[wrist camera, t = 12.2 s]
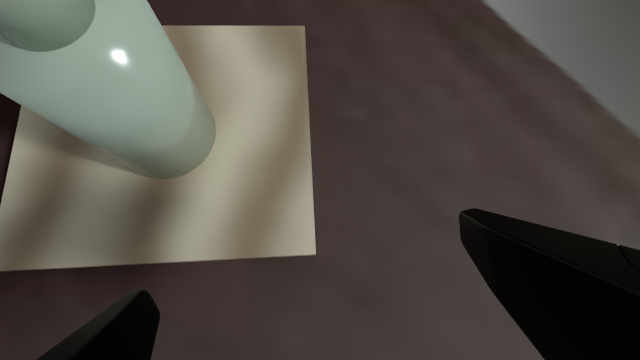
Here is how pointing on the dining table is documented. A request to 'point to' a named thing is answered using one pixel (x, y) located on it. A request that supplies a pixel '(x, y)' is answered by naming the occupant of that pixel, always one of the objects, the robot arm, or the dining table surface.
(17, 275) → the dining table surface
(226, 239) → the birch board
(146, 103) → the oil bottle
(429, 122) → the dining table surface
